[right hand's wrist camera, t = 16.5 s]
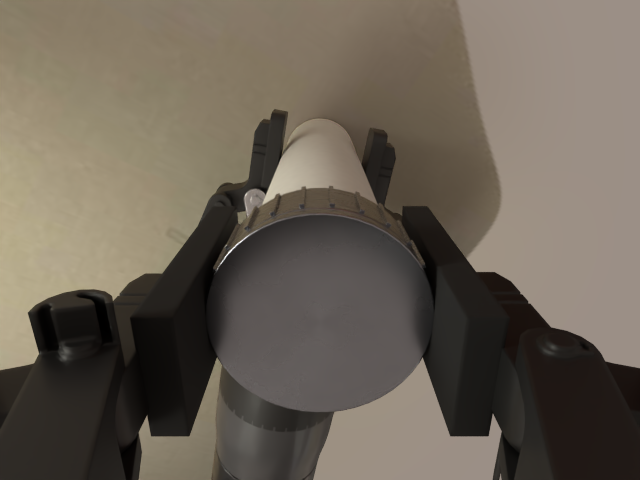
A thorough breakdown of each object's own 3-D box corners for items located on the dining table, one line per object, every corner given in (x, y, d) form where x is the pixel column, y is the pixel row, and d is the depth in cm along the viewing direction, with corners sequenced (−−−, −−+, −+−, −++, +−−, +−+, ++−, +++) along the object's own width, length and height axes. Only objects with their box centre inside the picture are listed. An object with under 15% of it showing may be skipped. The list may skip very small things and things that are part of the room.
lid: (236, 369, 13) (222, 422, 11) (203, 193, 11) (179, 220, 9) (419, 356, 13) (437, 408, 11) (418, 175, 11) (439, 199, 9)
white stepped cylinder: (284, 118, 28) (219, 222, 10) (354, 117, 28) (417, 220, 10) (287, 186, 30) (235, 382, 12) (352, 185, 30) (406, 381, 12)
